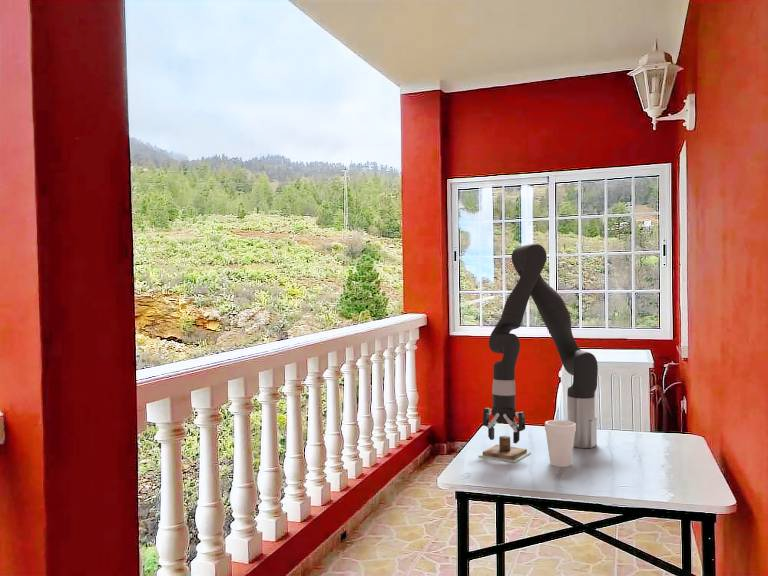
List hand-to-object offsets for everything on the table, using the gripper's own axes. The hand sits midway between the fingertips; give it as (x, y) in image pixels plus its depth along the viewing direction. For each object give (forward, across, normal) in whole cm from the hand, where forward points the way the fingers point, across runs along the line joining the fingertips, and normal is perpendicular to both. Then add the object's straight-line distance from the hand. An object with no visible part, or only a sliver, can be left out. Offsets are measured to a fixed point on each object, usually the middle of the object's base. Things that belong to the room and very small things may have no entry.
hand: (503, 441), depth 221 cm
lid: (+4, 0, 0) cm, 4 cm away
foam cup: (+5, -19, 0) cm, 20 cm away
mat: (+5, 0, 0) cm, 5 cm away
